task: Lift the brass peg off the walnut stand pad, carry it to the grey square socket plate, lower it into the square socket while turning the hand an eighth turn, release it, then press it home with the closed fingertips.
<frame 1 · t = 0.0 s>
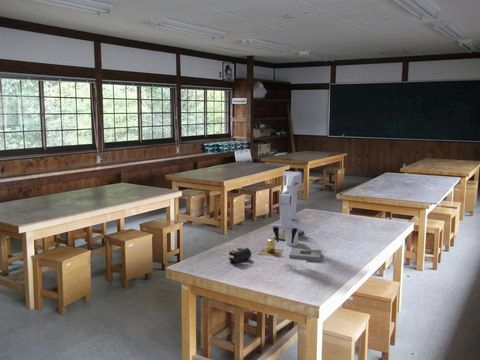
hand: (284, 242, 243), 10 cm above the table, fingers open, 7 cm apart
embossing press: (288, 237, 290), on the table
grey square socket plate: (305, 257, 251), on the table
brass peg: (270, 252, 256), point 1 cm above the table, touching stand pad
stand pad: (270, 253, 256), on the table
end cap: (240, 262, 242), on the table
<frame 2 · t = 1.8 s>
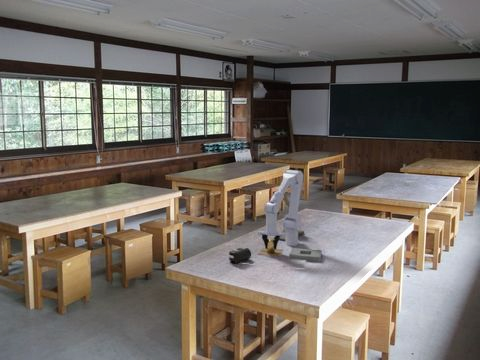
hand: (270, 248, 256), 3 cm above the table, fingers closed on brass peg, 4 cm apart
brass peg: (270, 252, 256), point 1 cm above the table, touching gripper, stand pad
everything else where it was.
when the fingers open (3 cm above the table, at t = 6.3 s): brass peg drops 1 cm, resting in grey square socket plate.
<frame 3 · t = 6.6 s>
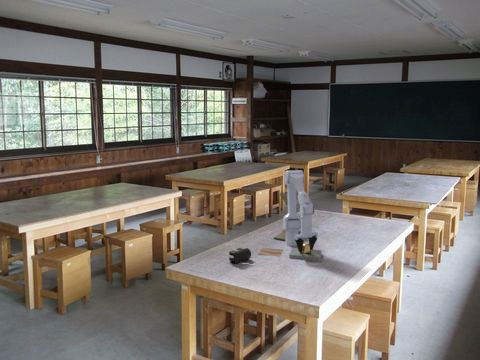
hand: (305, 250, 250), 3 cm above the table, fingers open, 7 cm apart
brass peg: (305, 257, 251), resting in grey square socket plate
everything else where it was.
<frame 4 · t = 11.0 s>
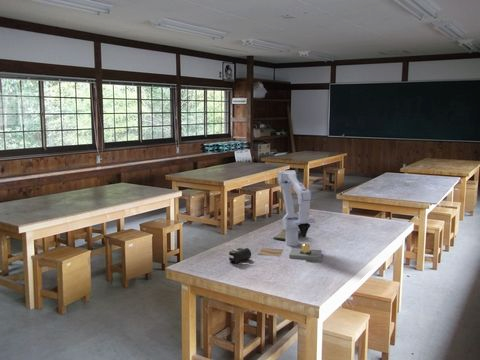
hand: (303, 236, 255), 9 cm above the table, fingers closed
at the end: brass peg 0.1 cm off-centre on the grey square socket plate, point 0.0 cm above the grey square socket plate's base; brass peg tilted 0°; the gripper is holding nothing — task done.
